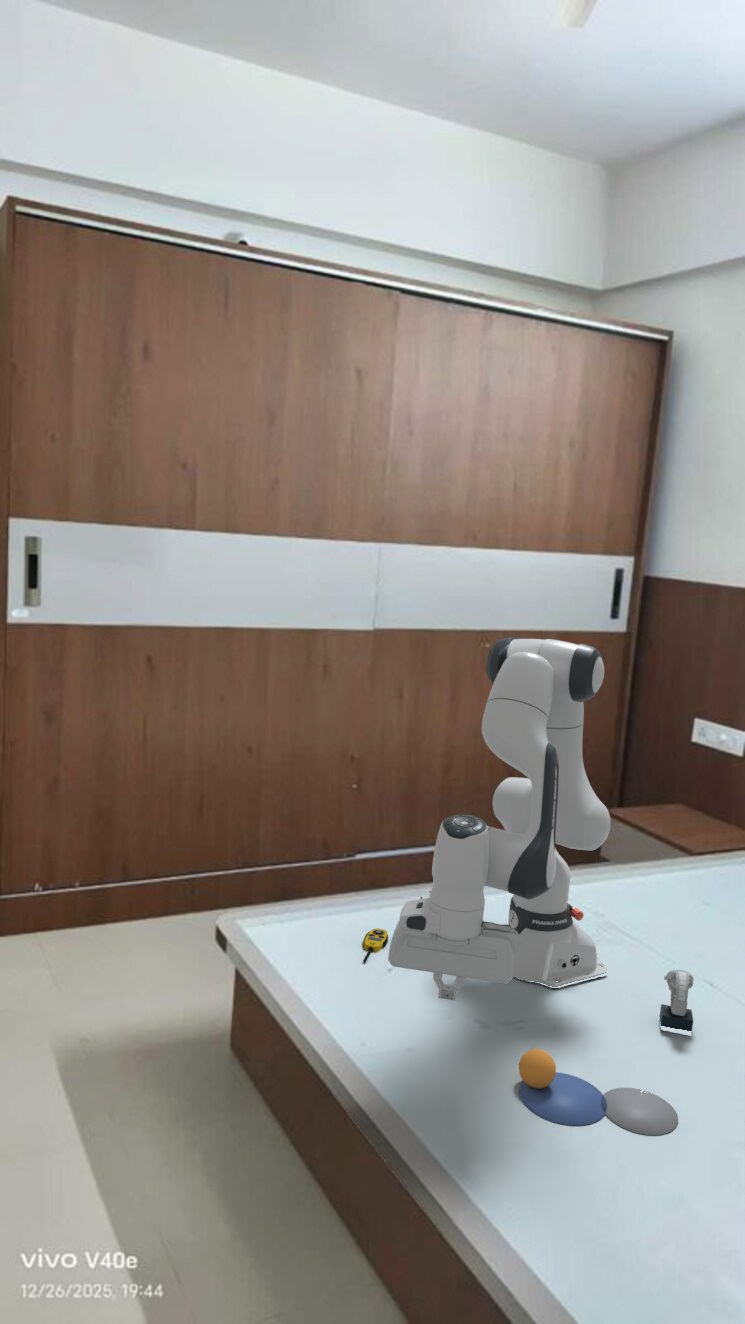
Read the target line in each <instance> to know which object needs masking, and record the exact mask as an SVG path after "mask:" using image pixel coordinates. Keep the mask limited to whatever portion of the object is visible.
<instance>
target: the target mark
mask: <svg viewBox="0 0 745 1324" xmlns="http://www.w3.org/2000/svg"><path fill="white" fill-rule="evenodd" d="M518 1091H519V1097H520V1099H521V1101H522V1103H523V1104H524V1106H525V1107H526V1108H527V1109H529V1111H531V1112H532V1113H534V1114H535V1115H537V1116H539V1117H540V1118H543V1119H545V1120H547V1121H549V1122H551V1123H555V1124H559V1125H565V1126H573V1127H575V1126H576V1127H578V1126H579V1127H580V1126H588V1125H592V1124H595V1123H597V1122H599V1121H601V1119H603V1118H604V1117H605V1116H606V1115H605V1112H606V1110H605V1109H607V1108H606V1106H607V1104H606V1103H607V1102H606V1101H605V1098H602V1096H603V1095H604V1094H603V1093H602V1091H600V1089H598V1088H597V1087H596V1086H594V1085H593V1084H592V1083H591V1082H589V1081H587V1080H585V1079H583V1078H580V1077H578V1076H575V1075H573V1074H569V1073H564V1072H557V1071H556V1074H555V1077H554V1080H553V1081H552V1083H551V1084H550V1085H548V1086H547V1087H545V1088H540V1089H537V1088H532V1087H530V1086H528V1085H527V1084H526V1083H525V1082H524V1081H523V1080H522V1082H521V1083H520V1085H519V1089H518ZM601 1099H602V1100H604V1101H605V1102H604V1101H603V1102H604V1104H605V1105H602V1104H603V1102H602V1101H601ZM601 1103H602V1104H601ZM602 1107H603V1108H604V1110H605V1112H604V1111H603V1109H602Z"/></svg>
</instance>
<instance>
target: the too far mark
mask: <svg viewBox="0 0 745 1324" xmlns="http://www.w3.org/2000/svg"><path fill="white" fill-rule="evenodd" d="M641 1090H642V1089H640V1088H636V1087H635V1088H634V1087H616V1088H612V1089H610V1090H607V1091H606V1092H605V1093H604V1094H603V1096H602V1098H605V1101H606V1102H607V1103H606V1104H607V1106H606V1108H607V1109H605V1110H606V1112H605V1110H604V1108H603V1107H602V1109H603V1111H604V1112H605V1115H604V1116H606V1117H607V1118H608V1119H609V1120H610V1121H611V1122H612V1123H614V1124H615V1125H617V1126H618V1127H621V1128H622V1129H624V1130H627V1131H629V1132H632V1133H635V1134H639V1135H645V1136H663V1135H667V1134H669V1133H671V1132H673V1131H674V1130H675V1129H676V1128H677V1126H678V1124H679V1116H678V1113H677V1111H676V1110H675V1108H674V1107H673V1106H672V1105H671V1103H669V1102H668V1101H666V1100H665V1099H663V1098H662V1097H661V1096H658V1095H657V1094H655V1093H652V1092H650V1091H647V1090H644V1091H643V1092H642V1093H641V1092H640V1091H641ZM645 1091H646V1093H644V1092H645ZM647 1092H648V1093H647ZM651 1093H652V1094H651ZM641 1094H642V1095H641ZM601 1101H602V1102H603V1101H604V1100H602V1099H601ZM605 1101H604V1102H605ZM604 1102H603V1104H602V1103H601V1104H602V1105H605V1104H604Z"/></svg>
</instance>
